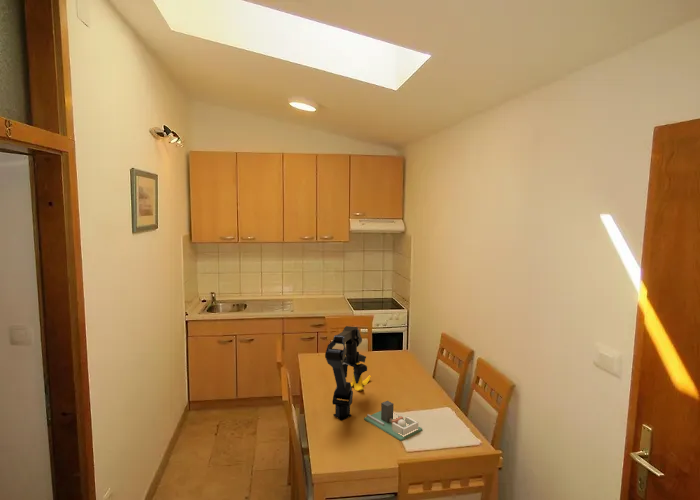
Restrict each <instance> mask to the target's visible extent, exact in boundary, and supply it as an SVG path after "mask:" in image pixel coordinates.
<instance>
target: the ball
mask: <svg viewBox="0 0 700 500" xmlns="http://www.w3.org/2000/svg"><path fill="white" fill-rule="evenodd" d="M403 419H404V418H403ZM403 419H400V420H399V421H398V423H397V424H398V425H400V426H401V427H403V428H404V427H406V422H405V420H403Z"/></svg>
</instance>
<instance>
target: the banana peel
mask: <svg viewBox="0 0 700 500" xmlns="http://www.w3.org/2000/svg"><path fill="white" fill-rule="evenodd" d="M358 364H360V363H357V365H358ZM371 377H372V376H371V375H370V374H369V375H368V376H367V377H366V378H365V379H363V376H362V374H361V376H360V379H359V382H358V383H357V384H356V382H355V378H354V373H352V379H351V380H352V381H351V382H350V383H351V387H352V388H354V390H355V391H357V392H359V391H364V390H365V388H364V386H367V385H368V383H369V381H370V379H371Z"/></svg>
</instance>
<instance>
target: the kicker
mask: <svg viewBox="0 0 700 500" xmlns="http://www.w3.org/2000/svg"><path fill="white" fill-rule="evenodd" d="M380 405H381V407H380V411H381V420H383V421H385V422H387V423H388V422H391V423H393V422H394V423H396V424H397V423H398V421H399V420H400V419H404V417H403V415H402V416H401V415H400V417H398V418H396V419H393V413H394V403H393V402H391V401H389V400H386V401H383V402H381V404H380Z"/></svg>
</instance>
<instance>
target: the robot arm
mask: <svg viewBox="0 0 700 500" xmlns="http://www.w3.org/2000/svg"><path fill="white" fill-rule="evenodd" d="M362 342H363V338H362V335H361V332H360V329H359V327H358V326H349V325H348V326H347V325H346V326H345V327H343V330H342V332H341V331H340V333H338V334H335V335H334V336H333V339H332V340H331V342H330V343H328V344H327V347H326V350H325V354H324V356H325V361H326V362H327V364H328V365H329V366H331V368H332V371H333V375H334V380H335V383H336V388H335V390H334V392H333V397H332V405H334V406H335V407H334V408H335V413H333V417H335V418H336V419H338V420H340V421H343V420H346V419H348V418H351V417H352V414H351V405H352V404H353V399H354V398H353V397H354V391H353V386H352V387H351V383H352V382H349V381H347V379H346V378H348V367H352V369H353V373H354V378H355V382H356V384H357V383H358V382H359V379H360V376H361V375H362V374H363V373H365V372H368V366H367V365H366V364H365V362H366V359H367V356H366V355H363V354H360V352H359V351H358V348H359V346H360V345H361V344H362ZM336 345H342V346H343V349H341V348H340V349H339V348H334V347H335V346H336ZM360 362H362V363H360ZM357 363H359V364H358V365H357ZM363 363H364V364H363ZM353 373H352V374H353Z"/></svg>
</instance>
